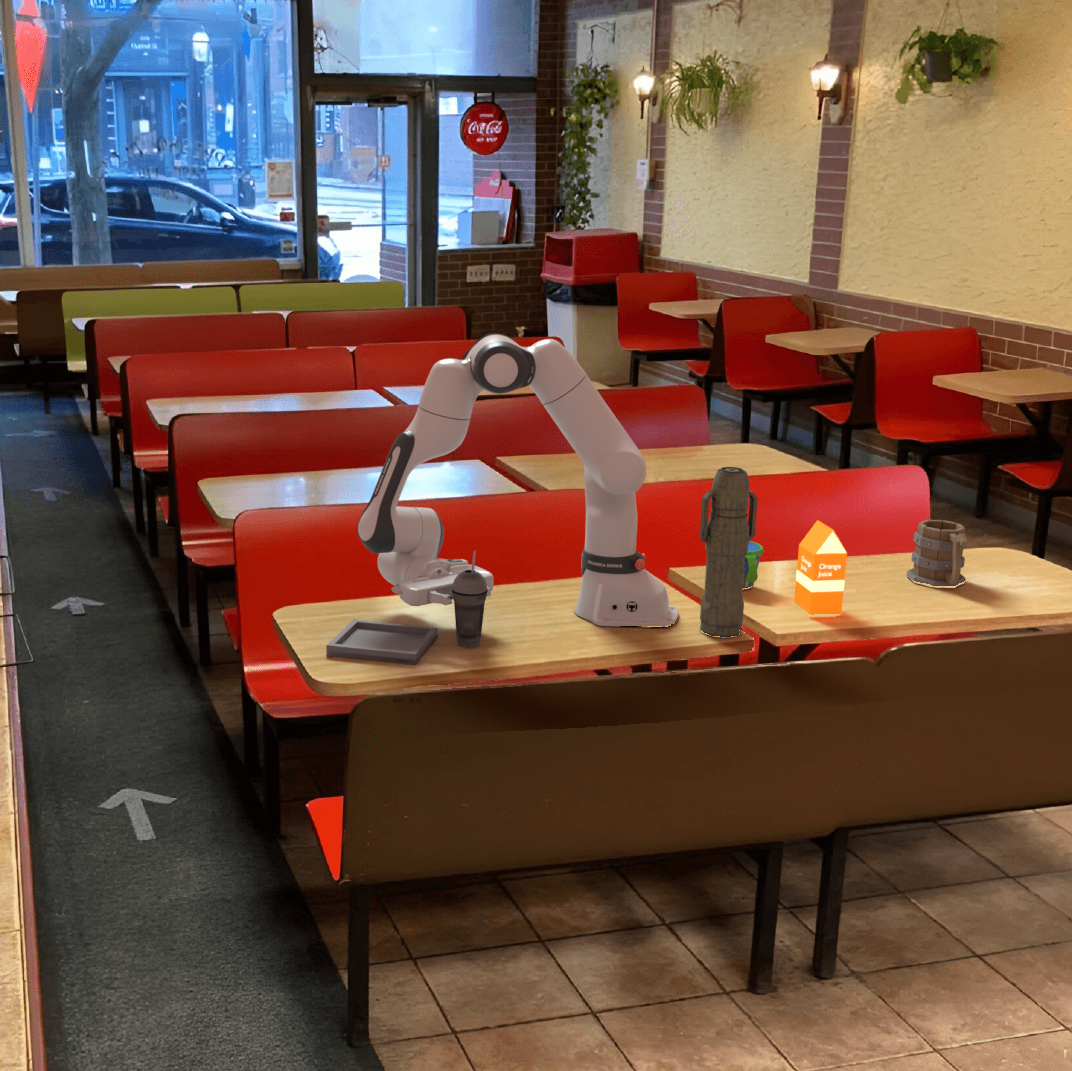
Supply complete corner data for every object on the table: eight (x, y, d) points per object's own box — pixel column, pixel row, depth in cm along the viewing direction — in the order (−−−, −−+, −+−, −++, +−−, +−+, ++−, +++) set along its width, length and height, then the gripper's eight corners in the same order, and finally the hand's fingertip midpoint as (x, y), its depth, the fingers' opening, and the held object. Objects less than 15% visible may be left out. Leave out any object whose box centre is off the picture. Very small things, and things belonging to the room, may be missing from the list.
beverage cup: (467, 635, 273) (469, 542, 268) (494, 644, 269) (496, 549, 263) (443, 644, 268) (444, 549, 262) (469, 653, 263) (471, 556, 258)
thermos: (756, 635, 279) (768, 472, 270) (707, 641, 275) (718, 475, 265) (733, 621, 287) (745, 463, 278) (685, 627, 282) (696, 466, 273)
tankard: (901, 572, 327) (907, 513, 323) (951, 573, 328) (958, 514, 324) (929, 598, 308) (936, 535, 304) (982, 598, 309) (990, 536, 305)
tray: (437, 637, 271) (437, 627, 271) (415, 665, 256) (415, 654, 256) (353, 629, 275) (353, 619, 274) (326, 655, 259) (326, 645, 259)
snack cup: (769, 596, 305) (773, 554, 303) (725, 597, 303) (729, 555, 301) (747, 576, 320) (750, 535, 317) (705, 577, 318) (708, 536, 315)
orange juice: (808, 618, 291) (816, 530, 286) (793, 605, 299) (800, 519, 294) (842, 617, 293) (850, 529, 287) (825, 604, 301) (833, 518, 296)
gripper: (387, 572, 269) (424, 590, 259) (470, 557, 281) (509, 573, 271) (387, 602, 271) (424, 621, 260) (469, 586, 283) (508, 603, 273)
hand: (468, 596), depth 266 cm, fingers open, 8 cm apart
